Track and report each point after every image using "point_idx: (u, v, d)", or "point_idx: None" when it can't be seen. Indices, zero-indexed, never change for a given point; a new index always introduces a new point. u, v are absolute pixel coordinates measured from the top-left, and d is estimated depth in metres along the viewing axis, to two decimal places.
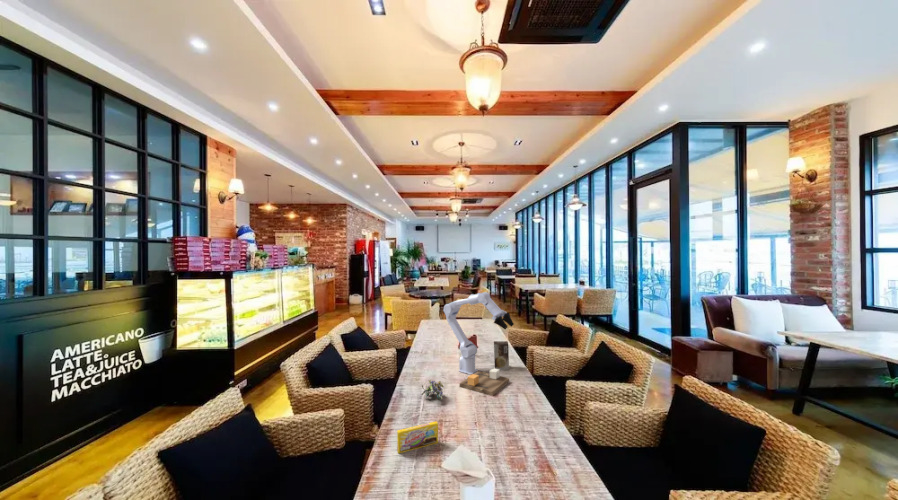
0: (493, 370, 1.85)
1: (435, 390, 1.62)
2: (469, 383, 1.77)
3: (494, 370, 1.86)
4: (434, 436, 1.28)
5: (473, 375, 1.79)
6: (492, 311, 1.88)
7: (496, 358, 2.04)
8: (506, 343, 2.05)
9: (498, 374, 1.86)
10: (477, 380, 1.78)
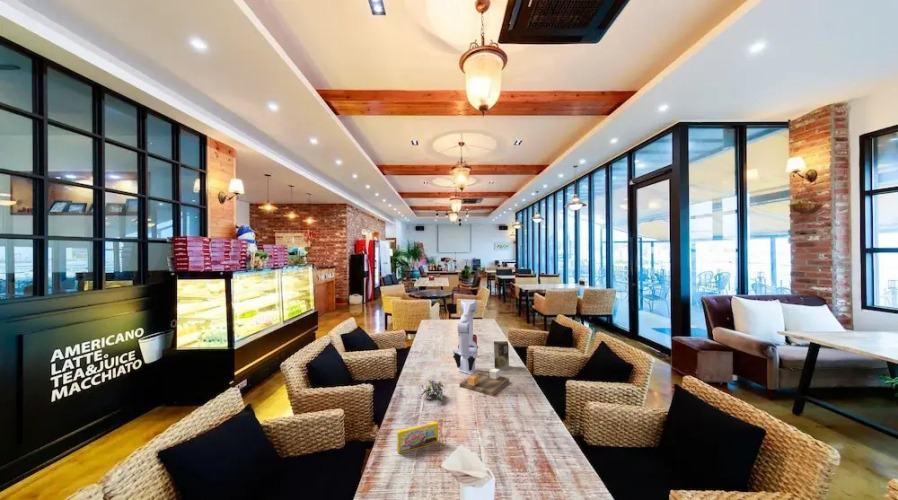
0: (493, 370, 1.85)
1: (435, 390, 1.62)
2: (469, 383, 1.77)
3: (494, 370, 1.86)
4: (434, 436, 1.28)
5: (473, 375, 1.79)
6: None
7: (496, 358, 2.04)
8: (506, 343, 2.05)
9: (498, 374, 1.86)
10: (477, 380, 1.78)
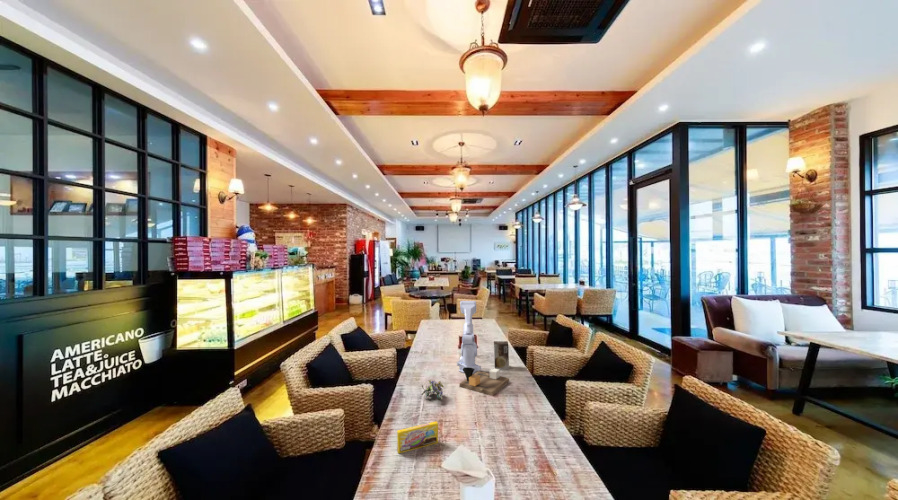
0: (493, 370, 1.85)
1: (435, 390, 1.62)
2: (470, 383, 1.76)
3: (494, 370, 1.86)
4: (434, 436, 1.28)
5: (474, 375, 1.79)
6: None
7: (496, 358, 2.04)
8: (506, 343, 2.05)
9: (498, 374, 1.86)
10: (478, 380, 1.78)
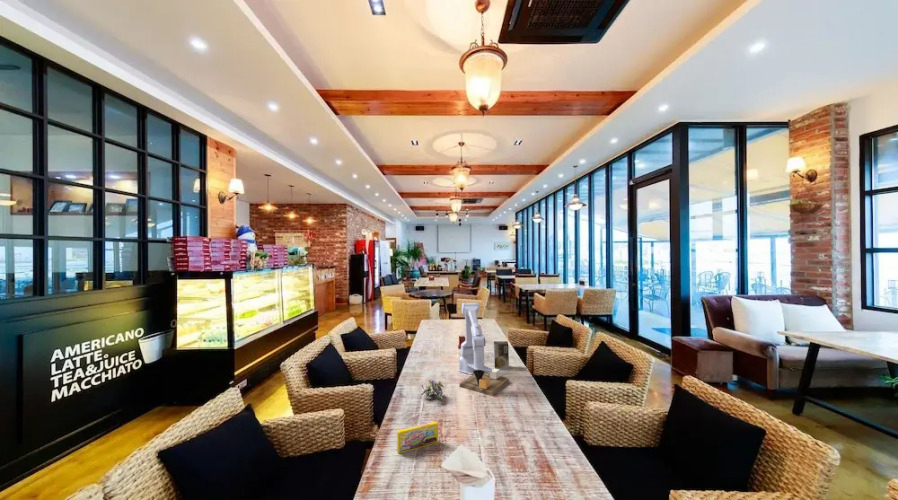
0: (493, 370, 1.85)
1: (435, 390, 1.62)
2: (481, 386, 1.73)
3: (494, 370, 1.86)
4: (434, 436, 1.28)
5: (484, 378, 1.75)
6: None
7: (496, 358, 2.04)
8: (506, 343, 2.05)
9: (498, 374, 1.86)
10: (489, 383, 1.74)
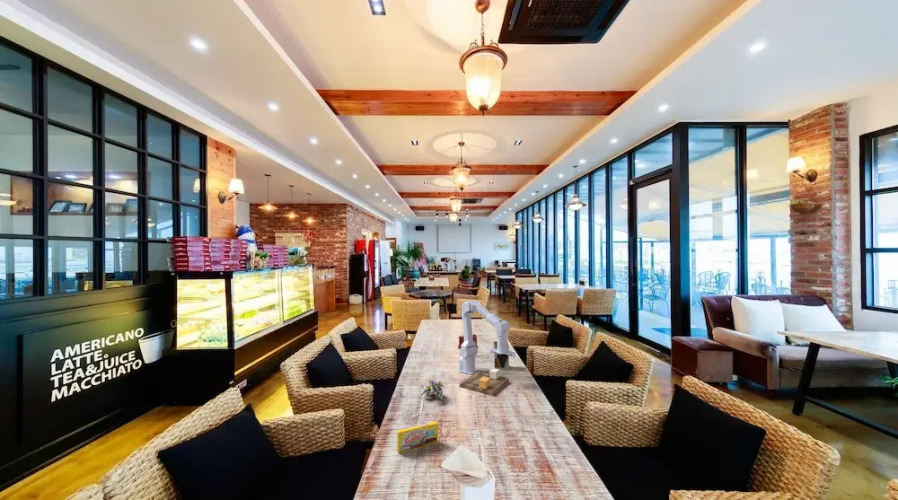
0: (493, 370, 1.85)
1: (435, 390, 1.62)
2: (480, 386, 1.73)
3: (494, 370, 1.86)
4: (434, 436, 1.28)
5: (484, 378, 1.75)
6: None
7: (496, 358, 2.04)
8: None
9: (498, 374, 1.86)
10: (488, 383, 1.74)
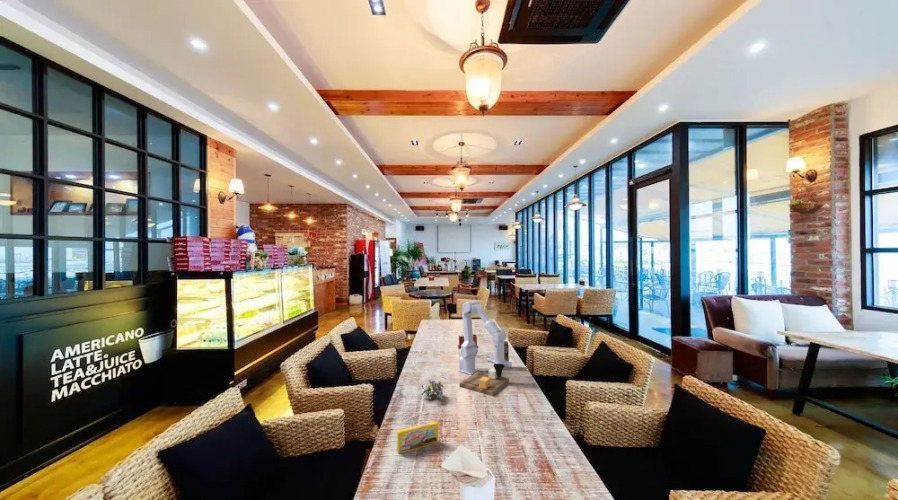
0: (492, 370, 1.86)
1: (435, 390, 1.62)
2: (480, 386, 1.73)
3: (493, 369, 1.87)
4: (434, 436, 1.28)
5: (484, 378, 1.75)
6: None
7: None
8: (506, 343, 2.05)
9: None
10: (488, 383, 1.74)
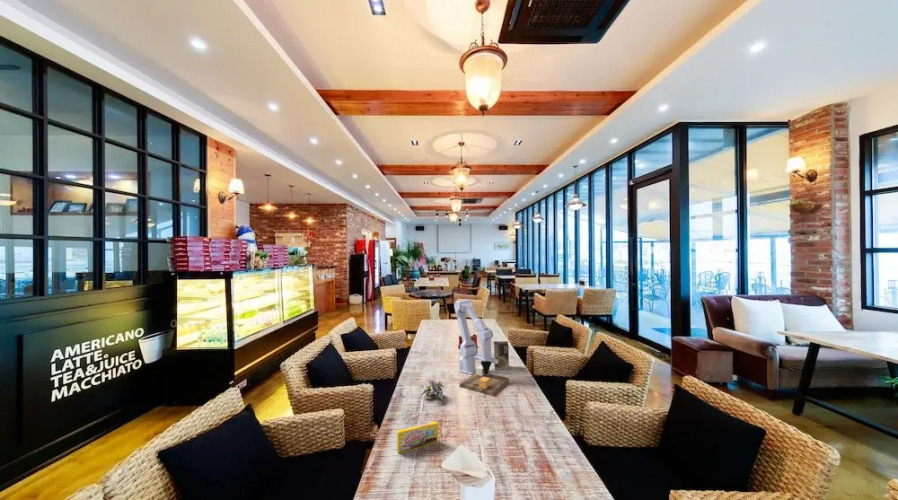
0: (480, 367, 1.90)
1: (435, 390, 1.62)
2: (480, 386, 1.73)
3: (480, 367, 1.91)
4: (434, 436, 1.28)
5: (484, 378, 1.75)
6: None
7: (496, 358, 2.04)
8: (506, 343, 2.05)
9: None
10: (488, 383, 1.74)
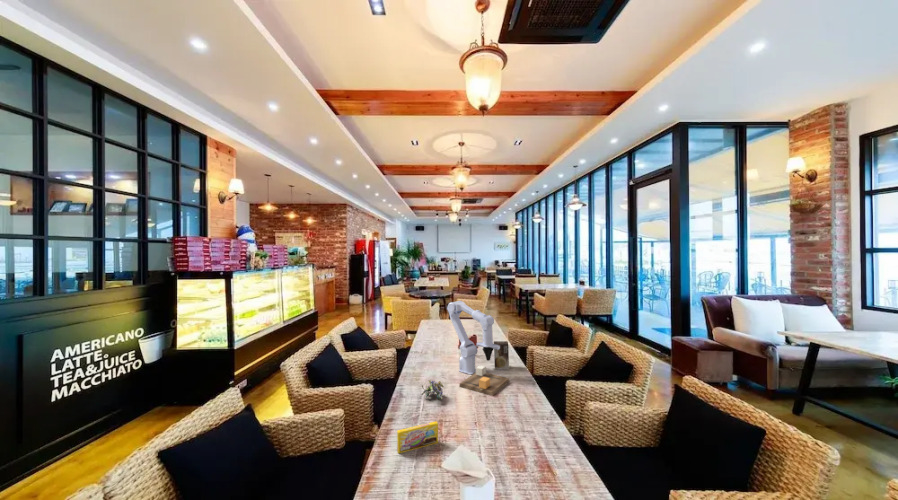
0: (480, 367, 1.90)
1: (435, 390, 1.62)
2: (480, 386, 1.73)
3: (480, 367, 1.92)
4: (434, 436, 1.28)
5: (484, 378, 1.75)
6: None
7: (496, 358, 2.04)
8: (506, 343, 2.05)
9: (484, 371, 1.91)
10: (488, 383, 1.74)
